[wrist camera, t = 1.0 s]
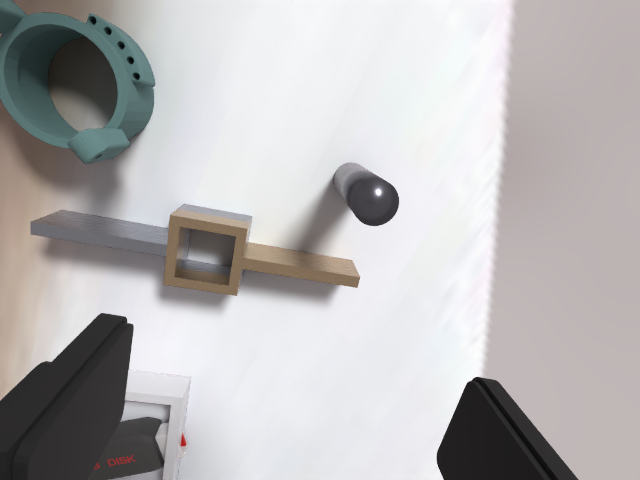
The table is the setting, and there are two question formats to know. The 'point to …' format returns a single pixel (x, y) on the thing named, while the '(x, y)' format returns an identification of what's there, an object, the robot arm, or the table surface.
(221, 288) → the hinge
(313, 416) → the table surface
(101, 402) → the robot arm
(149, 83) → the teal round tub
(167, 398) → the parts tray frame
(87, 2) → the table surface
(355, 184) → the hinge pin
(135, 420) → the usb flash stick
